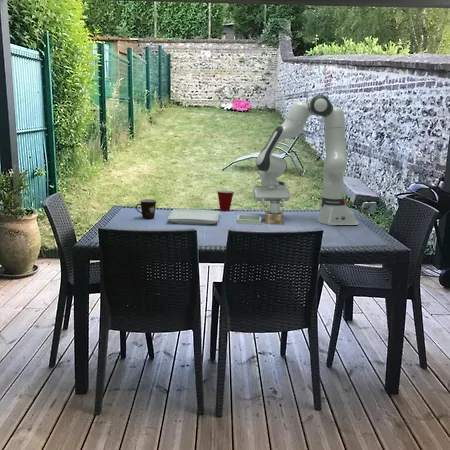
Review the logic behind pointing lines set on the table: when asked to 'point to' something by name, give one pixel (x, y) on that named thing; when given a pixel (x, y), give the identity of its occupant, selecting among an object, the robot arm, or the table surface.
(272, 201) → the canister
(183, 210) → the square plate
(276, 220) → the holder
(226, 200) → the plastic cup
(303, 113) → the robot arm
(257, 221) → the tray
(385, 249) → the table surface
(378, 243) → the table surface
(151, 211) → the coffee mug
